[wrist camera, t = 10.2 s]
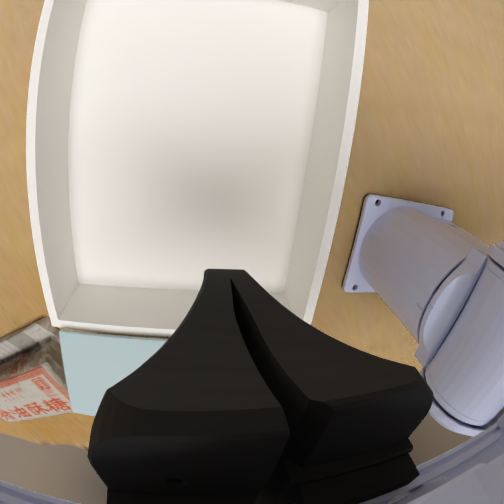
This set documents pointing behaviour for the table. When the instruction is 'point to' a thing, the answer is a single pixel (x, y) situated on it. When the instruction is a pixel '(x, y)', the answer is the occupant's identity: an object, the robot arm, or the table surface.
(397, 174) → the table surface
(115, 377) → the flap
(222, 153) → the carton
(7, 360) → the packaged product
